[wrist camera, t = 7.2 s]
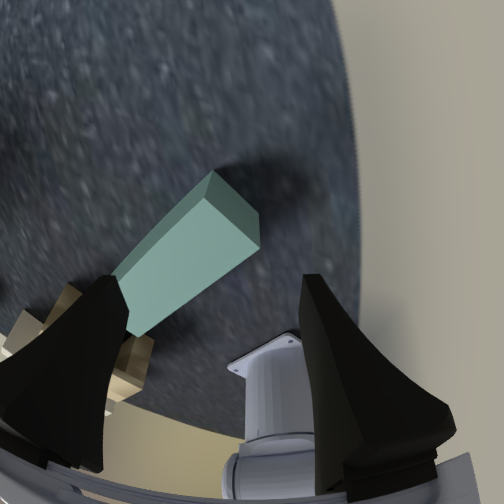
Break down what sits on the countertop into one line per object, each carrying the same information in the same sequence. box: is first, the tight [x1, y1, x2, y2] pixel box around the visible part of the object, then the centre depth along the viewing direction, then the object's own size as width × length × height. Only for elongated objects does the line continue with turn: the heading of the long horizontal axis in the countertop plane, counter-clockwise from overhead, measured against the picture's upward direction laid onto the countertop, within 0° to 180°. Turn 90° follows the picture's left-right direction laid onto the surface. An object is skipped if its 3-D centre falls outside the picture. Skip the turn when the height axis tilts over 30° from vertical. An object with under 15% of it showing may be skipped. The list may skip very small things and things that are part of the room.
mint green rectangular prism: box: [111, 170, 260, 338], centre depth 19 cm, size 4×12×4 cm, turn 133°
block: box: [39, 283, 155, 402], centre depth 23 cm, size 10×6×6 cm, turn 45°
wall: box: [1, 309, 116, 416], centre depth 26 cm, size 14×2×6 cm, turn 45°
